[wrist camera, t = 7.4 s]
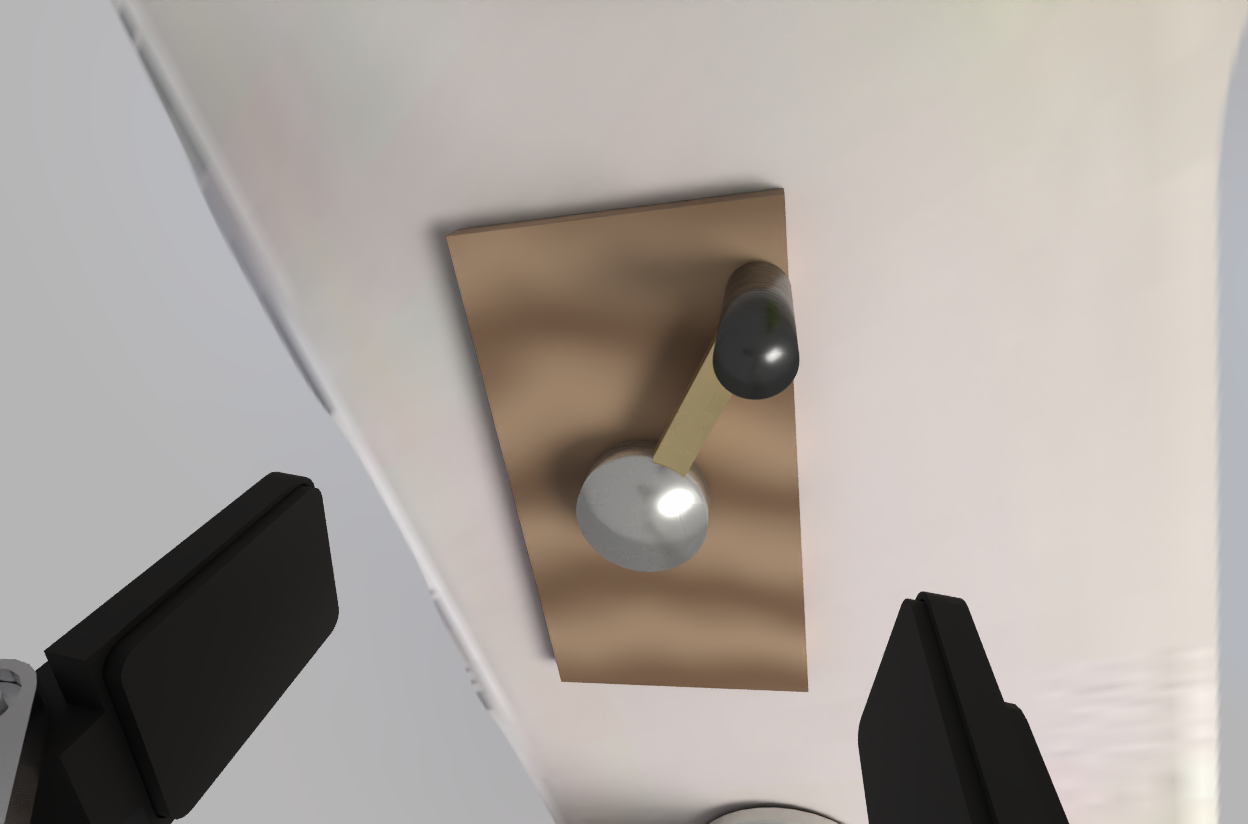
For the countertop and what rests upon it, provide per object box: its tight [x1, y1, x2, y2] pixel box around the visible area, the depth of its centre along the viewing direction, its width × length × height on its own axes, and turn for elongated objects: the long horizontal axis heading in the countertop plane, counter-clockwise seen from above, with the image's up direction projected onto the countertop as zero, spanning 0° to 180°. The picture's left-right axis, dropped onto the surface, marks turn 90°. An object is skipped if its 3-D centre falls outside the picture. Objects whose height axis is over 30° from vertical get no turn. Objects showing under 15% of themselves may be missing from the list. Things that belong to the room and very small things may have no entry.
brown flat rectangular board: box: [446, 188, 808, 692], centre depth 33 cm, size 26×14×2 cm, turn 9°
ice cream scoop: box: [576, 261, 799, 572], centre depth 27 cm, size 15×6×7 cm, turn 157°
